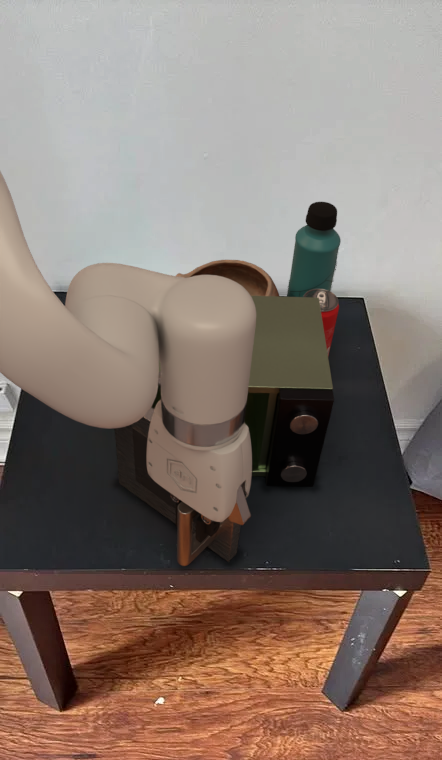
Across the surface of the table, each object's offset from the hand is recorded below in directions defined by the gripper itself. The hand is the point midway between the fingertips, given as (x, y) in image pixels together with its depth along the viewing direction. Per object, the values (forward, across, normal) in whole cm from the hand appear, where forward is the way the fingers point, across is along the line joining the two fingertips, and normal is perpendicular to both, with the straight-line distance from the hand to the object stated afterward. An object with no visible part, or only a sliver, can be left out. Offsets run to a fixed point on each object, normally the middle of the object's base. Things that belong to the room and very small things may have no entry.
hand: (197, 525), depth 81 cm
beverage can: (+8, -9, +37) cm, 39 cm away
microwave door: (+8, -6, +1) cm, 10 cm away
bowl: (+8, -22, +33) cm, 41 cm away
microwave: (+8, -11, +17) cm, 22 cm away
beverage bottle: (+8, -15, +43) cm, 46 cm away
